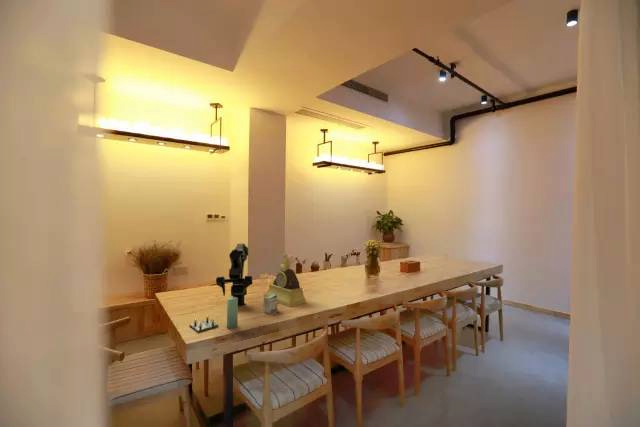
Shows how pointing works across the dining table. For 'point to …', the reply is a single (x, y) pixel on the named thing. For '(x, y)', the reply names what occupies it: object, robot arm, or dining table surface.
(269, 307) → the medicine box
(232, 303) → the teal wooden post
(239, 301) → the robot arm
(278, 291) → the decorative clock
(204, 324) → the plate
